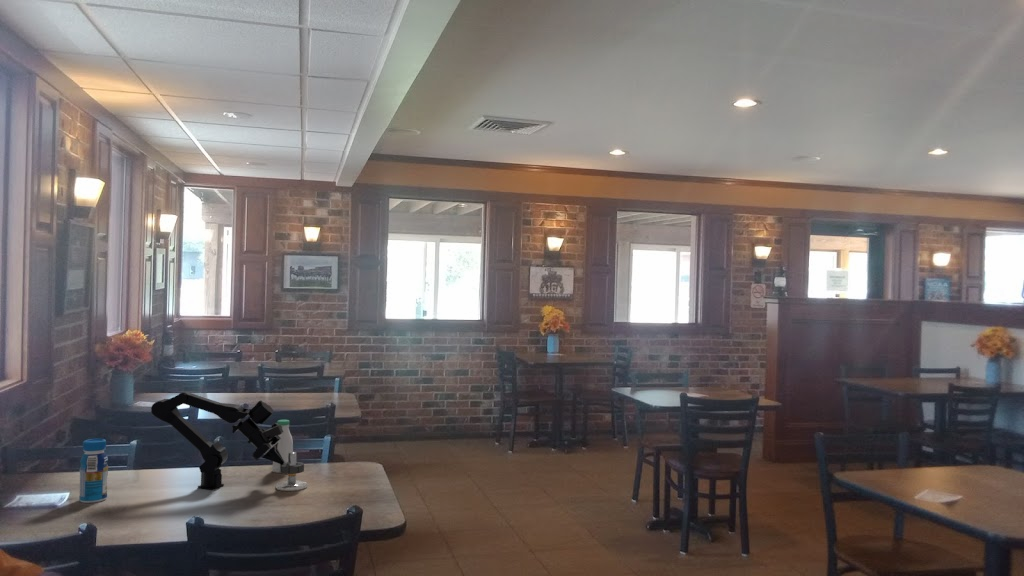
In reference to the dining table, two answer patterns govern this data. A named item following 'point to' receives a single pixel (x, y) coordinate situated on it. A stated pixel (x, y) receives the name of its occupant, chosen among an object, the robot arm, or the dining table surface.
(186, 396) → the robot arm
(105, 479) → the beverage bottle
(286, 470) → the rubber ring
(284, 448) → the milk bottle
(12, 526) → the dining table surface
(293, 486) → the pipe stand
